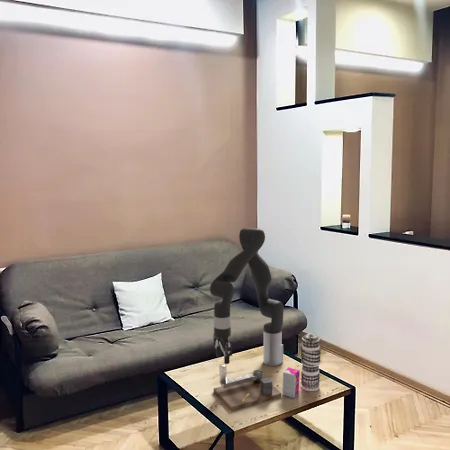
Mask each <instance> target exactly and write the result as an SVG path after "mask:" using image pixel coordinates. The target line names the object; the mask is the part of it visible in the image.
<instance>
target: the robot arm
mask: <svg viewBox="0 0 450 450" xmlns="http://www.w3.org/2000/svg"><path fill="white" fill-rule="evenodd" d="M238 235H239V236H238V237H239V238H238V240H239V244H240V245H241V246H240V247H241V248H242V251H241V252H240V253H238V254H236V255H235V256H234V257H232V258H231V260H229V262H228V263H227V265H226V266H225V268H224V270H223V271H222V272H221V273H220V274H219V275H218V276H217V277H215V278H214V279H213V281H212V282H211V284H210V287H209V293H210V294H211V295H212V296H213V297H218V298H220V299H221V300H220V301H217V302H215V303H214V307H213V309H214V310H213V339H212V340H213V343H212V344H213V346H214V348H215V356H216V357H217V358H219V357H221V356H222V354H223V364H225V365H228V364H230V357H232V356H233V343H232V342H231V341H230V342H229V338H230V336H232V319H231V304H232V300H233V297H234V294H235V287H234V285H233V284H232V283H235V282H237V280H238V279H239V277H240V275H241V274H242V273H243V270H244V268H245V267H246V266H247V264H248V267H249V270H250V275H251V279H252V281H253V285H254V289H255V291H256V297H257V301H258V308H259V311H260V314H261V315H262V316H263V317H266V318H269V319H270V320H271V321H269V322H266V323H264V324H263V364H264V365H266V366H270V367H276V366H279V365H281V364H282V363H283V364H284V344H282V339H283V338H282V337H283V336H282V334H283V333H282V329H283V325H284V312H285V311H284V310H285V309H284V303H282V301H280V300H275V299H271V298H270V295H269V291H268V290H269V288H270V286H271V283H272V280H273V279H272V273H271V269H270V267H269V264H268V263H267V262H266V261H265V260H264V258H263V257H262V256H261V255H260V254H259V253H258V251H259V250H261V248H262V247H263V245H264V243H265V241H266V234H265V231H264V230H263V229H261V228H256V227H243V228H241V229H240V232H239V234H238Z"/></svg>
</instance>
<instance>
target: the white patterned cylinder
mask: <svg viewBox="0 0 450 450" xmlns="http://www.w3.org/2000/svg"><path fill="white" fill-rule="evenodd" d="M301 340H302V343H301V346H300V357H301V360H300V362H301V365H302V366H301V372H300V373H301V375H300V376H301V378H300V381H301V382H300V385H301V387H300V388H302V389H303V390H304V391H307V392H316V391H318V390H319V389H320V382H321V380H320V378H321V377H320V375H321V374H320V373H321V372H320V367H319V366H320V365H321V364H320V363H321V356H320V355H321V354H322V351H321V350H322V349H321V348H320V340H321V338H320V337H319V336H318V335H317V334H315V333H305V334H304V335H303V336H302V337H301Z"/></svg>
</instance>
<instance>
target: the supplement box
mask: <svg viewBox="0 0 450 450" xmlns="http://www.w3.org/2000/svg"><path fill="white" fill-rule="evenodd" d="M300 371H301V370H300V369H295V368H292V367H287V368H286V369H285V370H284V371H282V397H285V398H289V399H295V398H296V397H297V396H298V395H299V394H300V376H301V375H300V373H301V372H300Z"/></svg>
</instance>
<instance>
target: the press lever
mask: <svg viewBox="0 0 450 450" xmlns="http://www.w3.org/2000/svg"><path fill="white" fill-rule="evenodd" d="M218 367H219V370H218V371H219V385H220V387H221V386H222V387H223V388H227V387H231V386H235V385H239V384H243V383H247V382H250V381H253V382H255V383H261V379H263V378H264V375H263V374H264V373H263V371H262V370H260V369H255V370H253V372H252V373H249V374H245V375H239V376H237V377H232V378H229V379H227V378H228V377H227V373H228V372H227V369H228V368H227V364H225V363H223V364H219V365H218Z"/></svg>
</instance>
